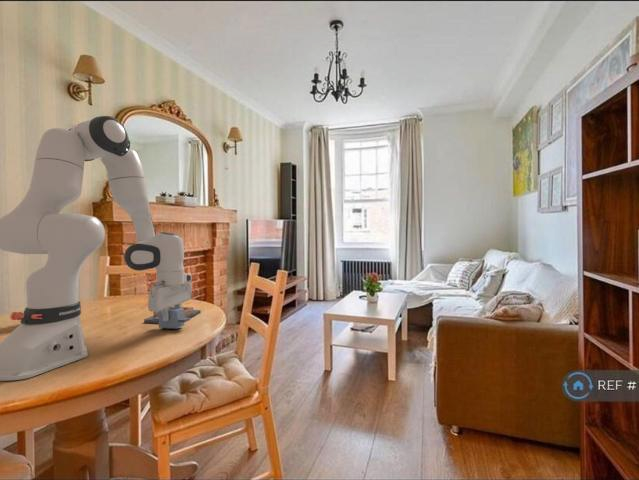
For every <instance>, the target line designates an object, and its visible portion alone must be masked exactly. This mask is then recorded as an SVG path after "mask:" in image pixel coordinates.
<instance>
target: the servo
mask: <svg viewBox="0 0 639 480" xmlns="http://www.w3.org/2000/svg"><path fill="white" fill-rule="evenodd" d="M168 314H169V315H170V320H169V321H163V316H162V314H161V312H160V311H159V317H156V318H153V321H159V323H158V328H161V329H179V328H182V327H184V326H185V323H186V322H188V321H190V320H191V318H184V308H169V311H168Z"/></svg>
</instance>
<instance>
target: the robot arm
mask: <svg viewBox="0 0 639 480" xmlns="http://www.w3.org/2000/svg"><path fill="white" fill-rule="evenodd" d="M96 159H100V161H101V162H102V164H103V165H104V167H105V170H106V176H107V181H108V182H107V183H108V186H109V187H108V188H109V191H110V193H111V196H112V198H113V200H114V202H115V203H116V204H117V206H119V207H121V208H122V209H123V210H124V211H125V212H126V213H127V214H128V216H129V217H130V219H131V221H132V224H133V227H134V232H135V236H136V241H137V242H135V243H133V244H132V245H129V246H128V247H127V248H126V250H125V252H124V255H123V258H124V263H125V264H126V266H127V267H128V268H130V269H132V270H133V271H137V272H140V271H142V272H143V271H148V270H151V269H152V270H153V269H155V270H156V282H154V283H153V284H152V285H151V287H150V289H149V292H148V298H147V299H148V300H147V309H148V311H149V312H151V313H153V312H159V311H160V312H161V314H162V316H163V321H169V320H170V315H169V314H168V311H169V307H175V308H181V307H182V304H183V303H187V302H188V301H190V300H191V298H192V282H191V281H192V280H193V275H191V274H189V273H186V272H185V267H184V259H185V248H184V241H183V238H182V237H181V235H179V234H177V233H173V232H166V231H160V232H158V233H156V230H155V226H154V222H153V219H152V214H151V210H150V201H149V194H148V193H149V192H148V184H147V179H146V175H145V171H144V168H143V165H142V164H143V163H142V161H141V159H140V157H139V155H138V152H136V150H135V149H133V148H131V141H130V138H129V134H128V132H127V129H126V128H125V126H124V125H123V123H122V122H120V120H118V119H117V118H116V117H113V116H110V115H109V116H108V115H101V116H96V117H93V118H92V119H89V120H85V121H82V122H79V123H78V124H76V125H75V126H73V127H72V128H69V129H66V128H59V127H58V128H57V127H53V128H50V129H47V130H46V131H44V133H43V134H42V136H41V138H40V141H39V144H38V147H37V149H36V155H35V159H34V164H33V170H32V176H31V180H30V184H29V185H30V186H29V188H28V191H27V192H26V194H25V196H24V197H23V198H22V200H21V202H19V204H18V205H17V206H16V207H15V208H14V209H13V210H11V211H9V213H7V214H5V215H4V216H2V217H0V250H1V251H3V252H9V253H13V254H20V255H48V257H47V260H46V263H45V264H44V265H43V267H41V268H39V269H37V270H35V271H34V272H32V273H31V274H30V275H29V276H28V278H27V279H26V284H25V285H26V287H25V288H26V307H25V308H24V311H23V312H22V311H19V312H17V311H13V312H12V313H11V314H9V319H10V320H11V321H20V324H19V325H18V326H17V327H16V328H14V330H13V331H11V332H10V333H9V334H8V335H7V336H6V337H5V338H4V339H3V340H2V341H1V342H0V382H1V381H5V382H6V381H7V382H8V381H19V380H27V379H29V378H30V379H31V378H33V377H36V376H38V375H42V374H44V373H46V372H49V371H52V370H55V369H57V368H59V367H63V366H66V365H68V364H70V363H73V362H76V361H78V360H81V359H85V358H87V357H88V356H89V353H88V347H87V346H86V343H85V339H84V333H83V327H82V322H81V318H80V315H81V314H82V306H81V301H79V287H80V286H79V284H80V283H79V281H80V273H81V270H82V267H83V266H84V265H85V262H86V261H87V259H89V256H90V255H92V254H93V253H95V252H96V251H98V250H99V248H101V246H102V245H103V243H104V241H105V238H106V230H105V226H104V225H103V223H102V222H101V220H100V219H99V218H98V217H96V216H93V215H88V214H83V213H82V214H81V213H61V211H62V210H63V209H64V208H65V207H67V206H68V205H70V204H71V203H74V202H75V201H77V200H79V198H80V197H81V195H82V188H83V182H84V181H83V180H84V171H85V162H90V161H95V160H96Z"/></svg>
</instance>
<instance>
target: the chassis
mask: <svg viewBox="0 0 639 480" xmlns="http://www.w3.org/2000/svg"><path fill="white" fill-rule="evenodd" d="M169 308H175V306H172V307H169ZM181 308H184V318H190V319H192V318H194V317H196V316H198V315H199V314H201V309H194V307H192V306H191V307H189V306H181ZM152 313H153V315H152V316H149V317H147V318H144V319H143V323H145V324H159V321H153V318H156V317H159V312H152Z"/></svg>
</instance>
